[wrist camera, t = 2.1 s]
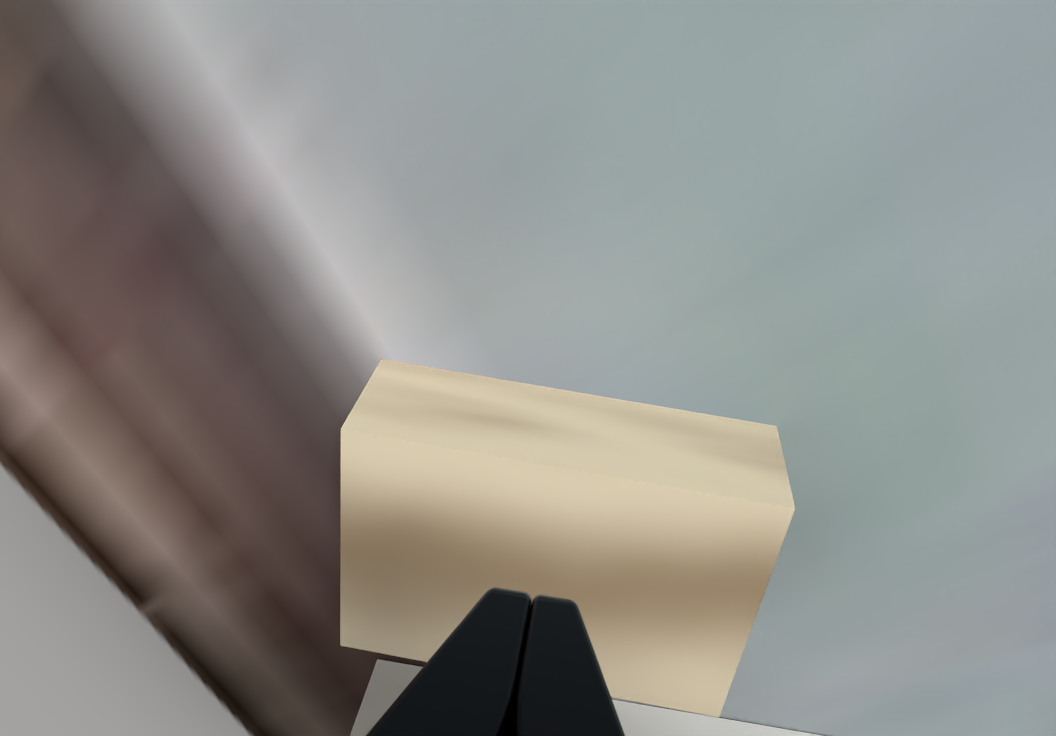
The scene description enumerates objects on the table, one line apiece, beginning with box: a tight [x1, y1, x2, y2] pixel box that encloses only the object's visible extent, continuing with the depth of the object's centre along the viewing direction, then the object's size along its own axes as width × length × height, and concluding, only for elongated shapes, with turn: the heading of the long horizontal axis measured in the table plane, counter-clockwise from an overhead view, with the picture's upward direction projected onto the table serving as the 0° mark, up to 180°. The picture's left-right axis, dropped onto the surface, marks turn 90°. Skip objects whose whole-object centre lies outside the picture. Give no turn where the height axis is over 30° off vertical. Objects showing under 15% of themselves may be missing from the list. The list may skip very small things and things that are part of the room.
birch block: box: [340, 359, 795, 717], centre depth 21 cm, size 7×10×4 cm
